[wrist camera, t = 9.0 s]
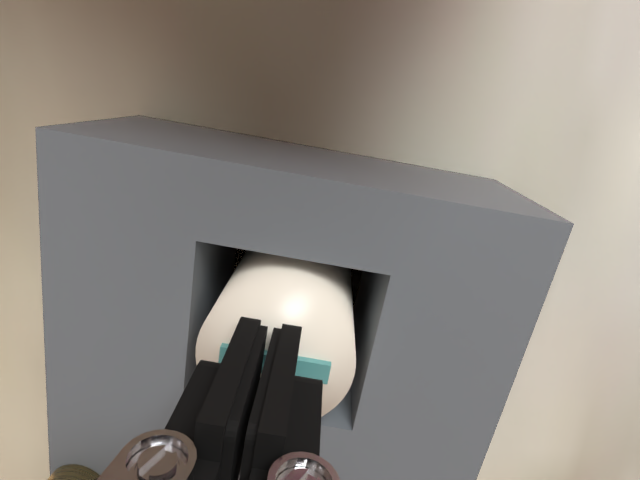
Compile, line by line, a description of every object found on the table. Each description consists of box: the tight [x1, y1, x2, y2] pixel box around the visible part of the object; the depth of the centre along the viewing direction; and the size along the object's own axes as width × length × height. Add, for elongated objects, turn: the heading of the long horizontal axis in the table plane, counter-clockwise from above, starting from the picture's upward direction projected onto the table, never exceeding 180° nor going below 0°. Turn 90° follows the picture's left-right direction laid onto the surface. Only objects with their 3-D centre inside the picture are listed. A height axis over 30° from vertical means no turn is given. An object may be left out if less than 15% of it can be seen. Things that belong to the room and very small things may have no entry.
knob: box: [195, 250, 356, 417], centre depth 15 cm, size 4×4×7 cm
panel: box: [35, 115, 574, 480], centre depth 18 cm, size 14×24×6 cm, turn 170°
